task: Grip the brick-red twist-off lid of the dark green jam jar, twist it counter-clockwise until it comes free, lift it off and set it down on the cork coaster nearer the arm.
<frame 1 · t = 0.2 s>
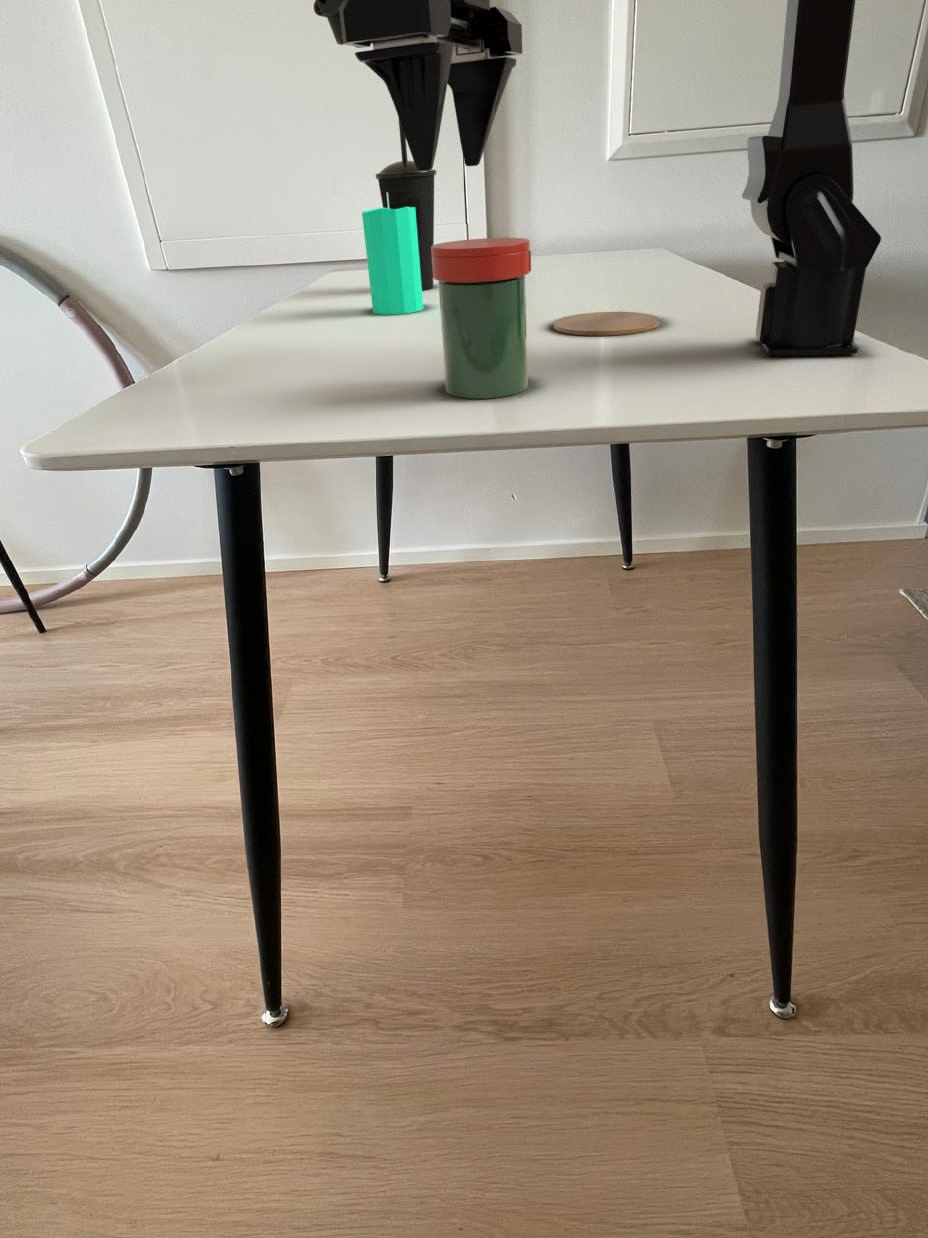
hand: (449, 167, 60), 14 cm above the table, tool pointing down, fingers open, 9 cm apart
jam jar: (486, 387, 58), on the table
coaster: (605, 325, 76), on the table
candle: (398, 311, 92), on the table
jam lid: (480, 250, 54), point 9 cm above the table, screwed on, not yet turned
drinking cup: (415, 289, 107), on the table
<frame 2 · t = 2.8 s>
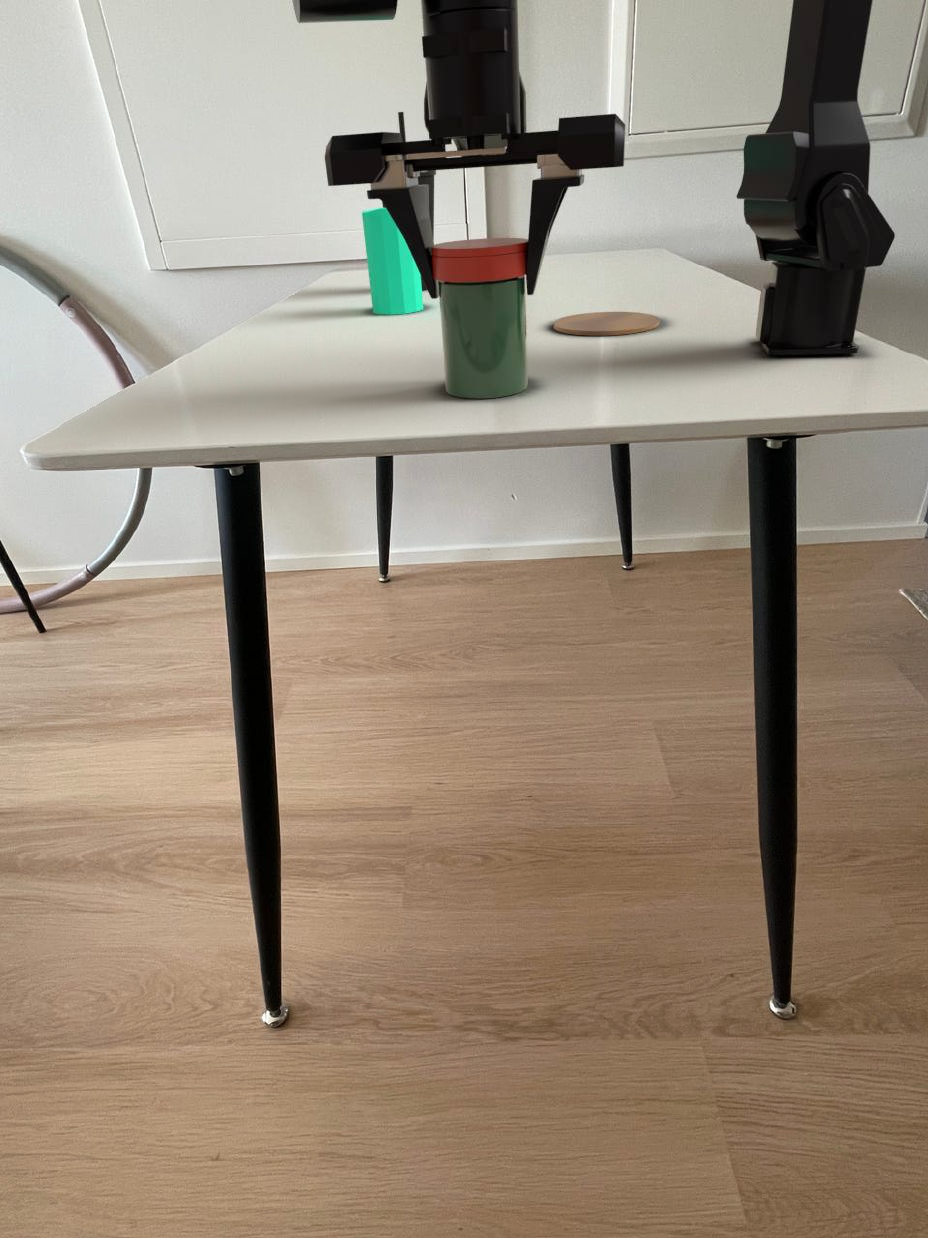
hand: (482, 295, 55), 6 cm above the table, tool pointing down, fingers closed on jam lid, 6 cm apart
jam lid: (480, 250, 54), point 9 cm above the table, screwed on, not yet turned, touching gripper
everything else where it was.
when the fingers open (5 cm above the table, at t = 7.7 s): jam lid stays where it is, point 9 cm above the table.
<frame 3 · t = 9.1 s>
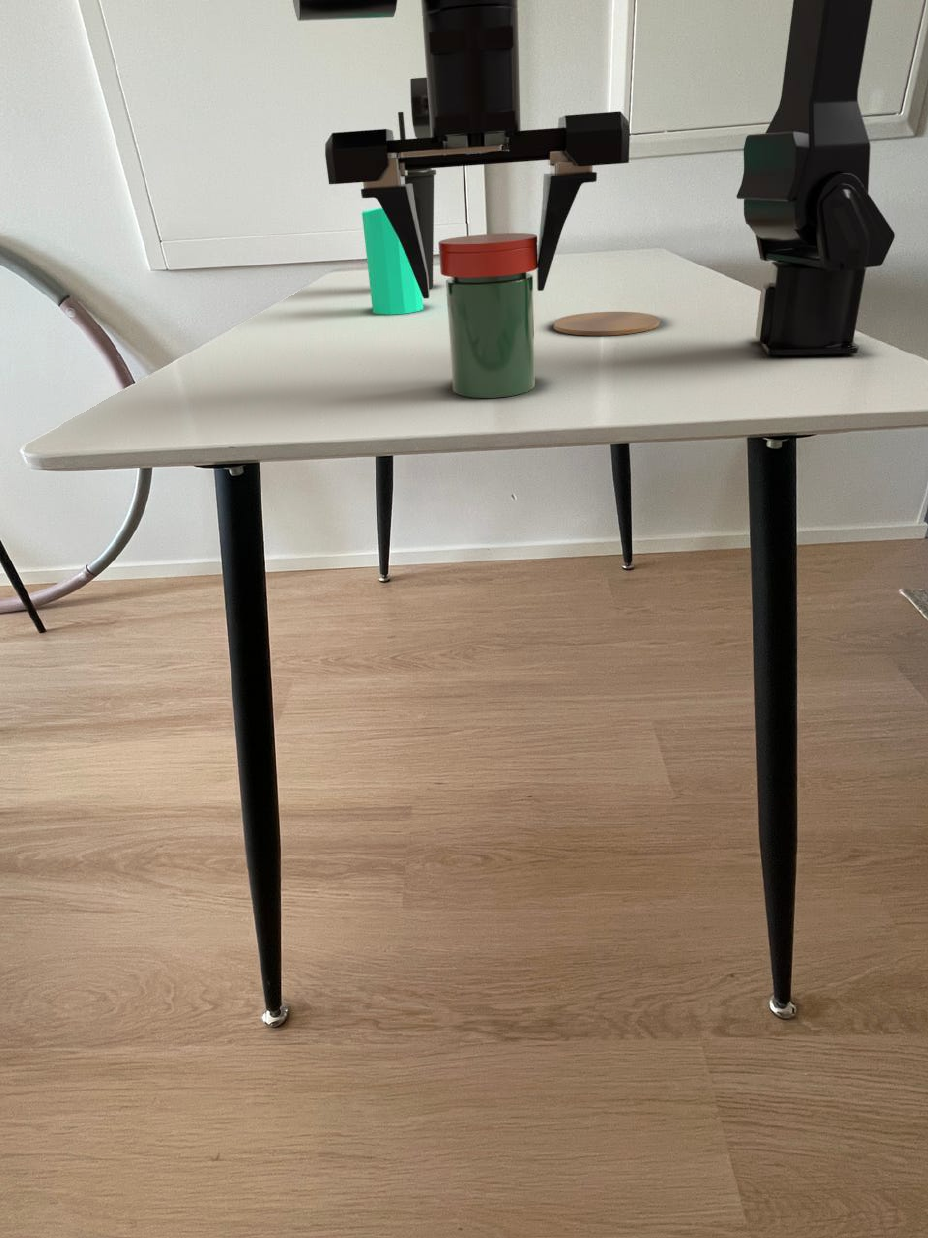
hand: (483, 293, 55), 6 cm above the table, tool pointing down, fingers open, 8 cm apart
jam lid: (487, 246, 54), point 9 cm above the table, turned 88° so far, risen 0.2 cm, still on its thread, touching gripper
everything else where it was.
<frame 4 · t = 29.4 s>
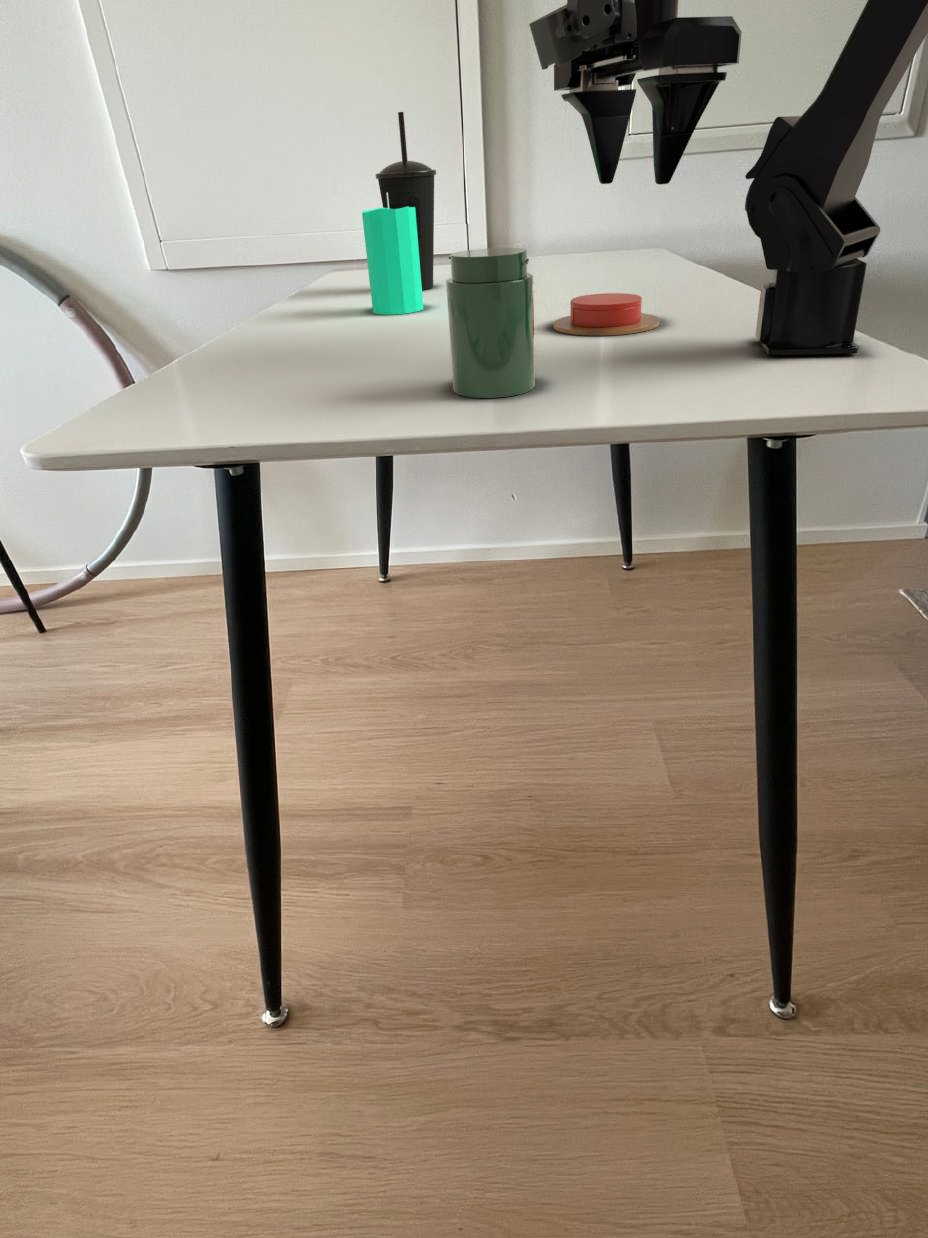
hand: (632, 183, 67), 12 cm above the table, tool pointing down, fingers open, 9 cm apart
jam lid: (605, 304, 75), point 2 cm above the table, off its thread, touching coaster
everything else where it was.
at the end: jam lid came off its thread; jam lid inside the target area on the coaster (0.1 cm from its centre), point 1.9 cm above the coaster's base; the gripper is holding nothing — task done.
